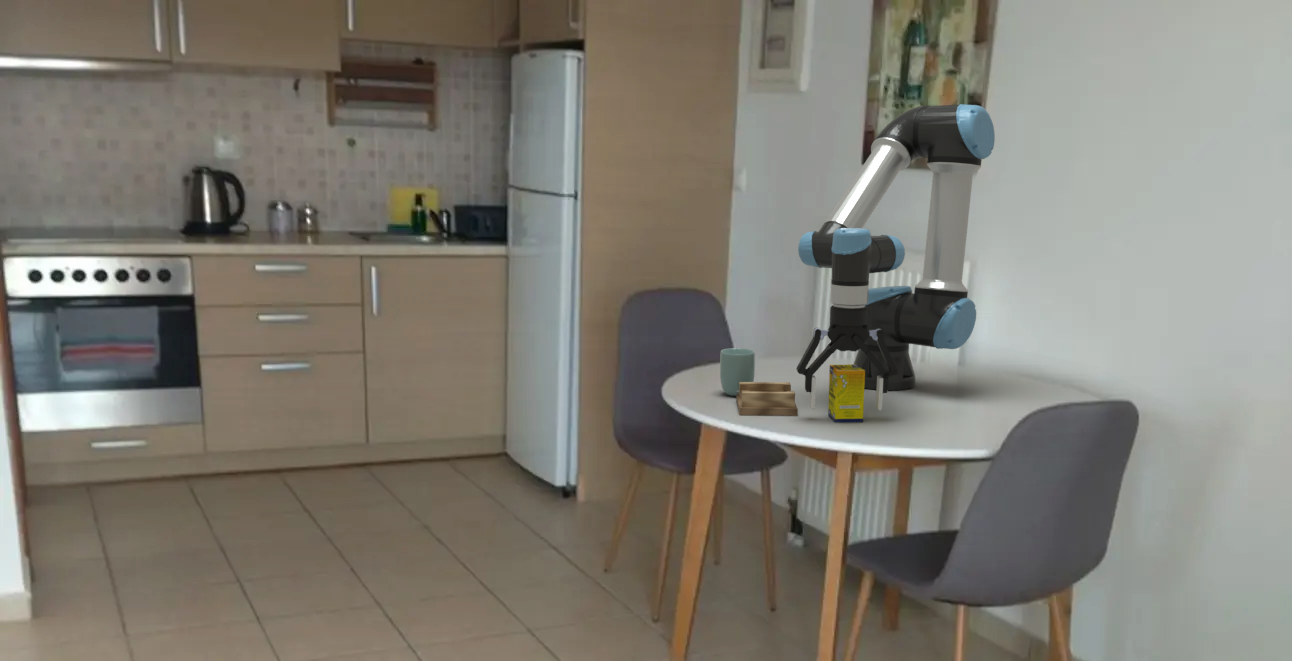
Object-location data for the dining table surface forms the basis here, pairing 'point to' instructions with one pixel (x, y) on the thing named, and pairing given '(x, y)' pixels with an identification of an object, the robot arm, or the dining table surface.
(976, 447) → the dining table surface
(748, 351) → the cup
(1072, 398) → the dining table surface
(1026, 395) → the dining table surface
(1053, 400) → the dining table surface
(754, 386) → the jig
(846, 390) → the supplement box
